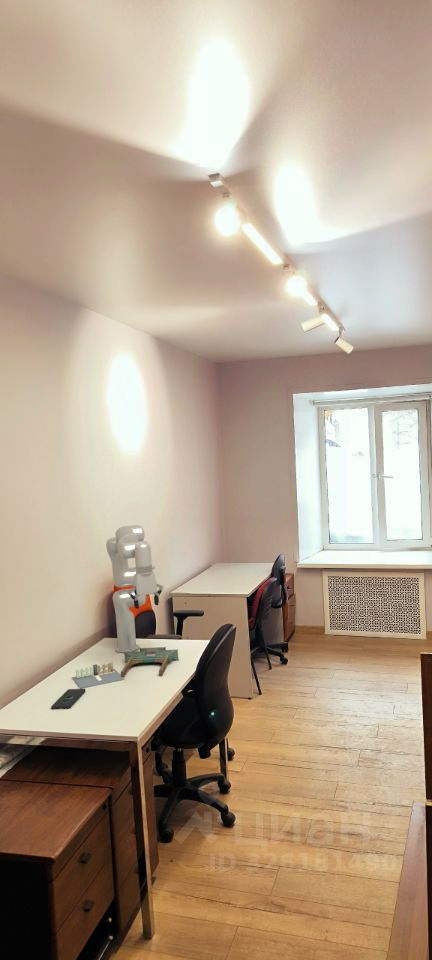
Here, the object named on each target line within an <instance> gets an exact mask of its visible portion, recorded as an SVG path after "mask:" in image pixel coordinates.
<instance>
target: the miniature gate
mask: <svg viewBox="0 0 432 960" xmlns="http://www.w3.org/2000/svg"><path fill="white" fill-rule="evenodd" d="M138 650H139V651H138ZM138 650H136V651H132V652H125V651H124V653H123V654H124V663H125V664H124V667H123V668H122V669H121V671H120V675H121V677H123V678H125V677H126V675H127V673H128V671H129V670H130V668H131V667H132V666H133V665H136V664H141V663H161V665H160V668H159V669H158V674H159V676H163V675H164V673H165V670H166V668H167V666H168V665H169V662H172V661H179V660H180V659H179V649H178V648H177V649H167V646H161V647H159V646H158V647H139V649H138Z"/></svg>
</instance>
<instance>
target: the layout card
mask: <svg viewBox="0 0 432 960" xmlns="http://www.w3.org/2000/svg"><path fill="white" fill-rule="evenodd" d="M72 680H73V681H74V683H75V684H76V685H77V687H78V689H86V688H87V689H88V688H91V687H95V686H96V687H97V686H100V685H107V684H110V683H114V682H119V681H123V680H124V681H125V677H121V673H120V672H118V670H117V669H115V668H113V672H110V673H109V672H106V673H105V674H103V673H101V674H100V675H96V676H94V672H93V675H92V676H91V675H89V676H87V677H86V676H84V677H79V678H76V676H73V677H72Z"/></svg>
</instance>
